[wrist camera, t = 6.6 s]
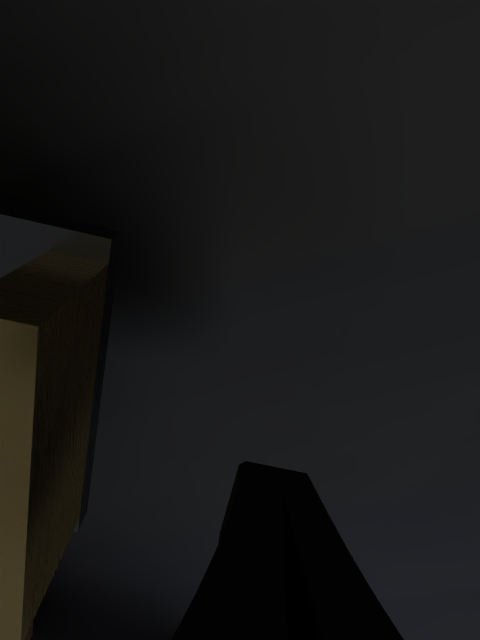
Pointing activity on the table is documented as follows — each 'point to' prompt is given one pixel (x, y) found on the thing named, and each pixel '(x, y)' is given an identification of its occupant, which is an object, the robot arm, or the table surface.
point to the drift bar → (47, 394)
